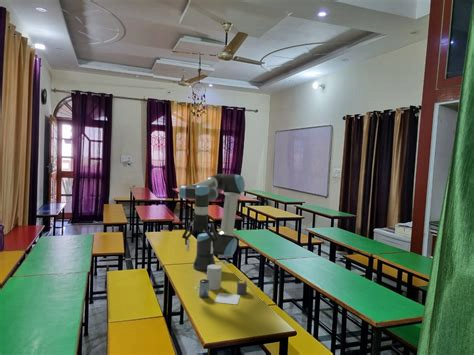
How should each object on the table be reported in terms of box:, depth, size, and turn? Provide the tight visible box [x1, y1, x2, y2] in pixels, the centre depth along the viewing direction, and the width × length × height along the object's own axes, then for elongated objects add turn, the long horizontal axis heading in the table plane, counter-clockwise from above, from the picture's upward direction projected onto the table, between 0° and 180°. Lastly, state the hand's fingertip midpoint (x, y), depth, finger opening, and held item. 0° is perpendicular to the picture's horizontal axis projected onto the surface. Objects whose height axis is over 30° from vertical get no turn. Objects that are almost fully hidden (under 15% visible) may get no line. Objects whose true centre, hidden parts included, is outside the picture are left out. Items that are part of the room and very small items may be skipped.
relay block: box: [236, 280, 248, 296], centre depth 188 cm, size 5×5×6 cm
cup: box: [206, 264, 223, 291], centre depth 194 cm, size 8×8×12 cm
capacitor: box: [198, 278, 210, 299], centre depth 181 cm, size 5×5×8 cm
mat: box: [213, 292, 242, 306], centre depth 179 cm, size 12×12×1 cm
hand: (199, 251), depth 187 cm, fingers open, 13 cm apart
